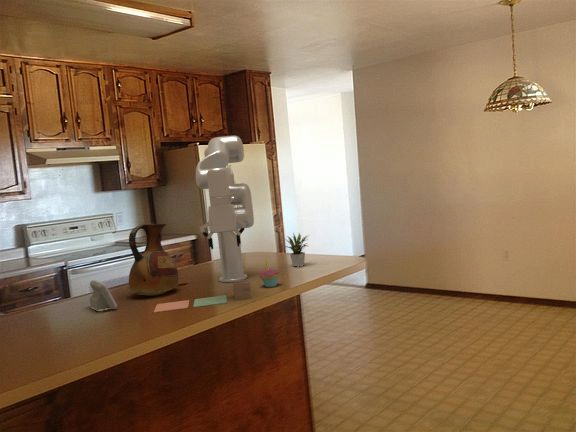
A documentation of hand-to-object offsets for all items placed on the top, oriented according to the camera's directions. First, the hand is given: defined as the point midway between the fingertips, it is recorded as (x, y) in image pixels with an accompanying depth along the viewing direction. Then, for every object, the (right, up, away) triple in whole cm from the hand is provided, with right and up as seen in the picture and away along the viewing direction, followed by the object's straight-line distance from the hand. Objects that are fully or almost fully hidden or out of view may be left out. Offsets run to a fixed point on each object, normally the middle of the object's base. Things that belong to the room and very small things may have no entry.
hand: (225, 247), depth 192 cm
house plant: (+29, -13, +54) cm, 63 cm away
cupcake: (+16, -17, +17) cm, 29 cm away
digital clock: (-47, -24, +7) cm, 53 cm away
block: (+6, -19, +2) cm, 20 cm away
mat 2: (-5, -20, 0) cm, 21 cm away
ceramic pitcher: (-32, -21, +25) cm, 46 cm away
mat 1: (-19, -22, -2) cm, 29 cm away
